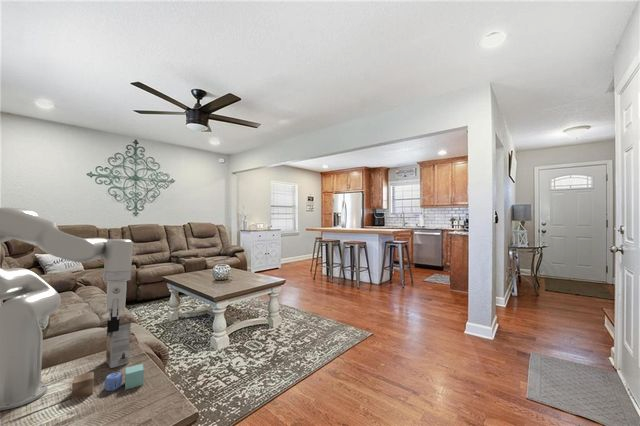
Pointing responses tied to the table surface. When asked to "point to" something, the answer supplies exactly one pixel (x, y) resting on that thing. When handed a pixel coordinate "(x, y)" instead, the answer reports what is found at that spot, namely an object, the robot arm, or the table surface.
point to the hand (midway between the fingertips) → (112, 331)
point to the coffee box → (118, 344)
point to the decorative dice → (113, 381)
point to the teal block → (134, 376)
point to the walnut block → (82, 385)
